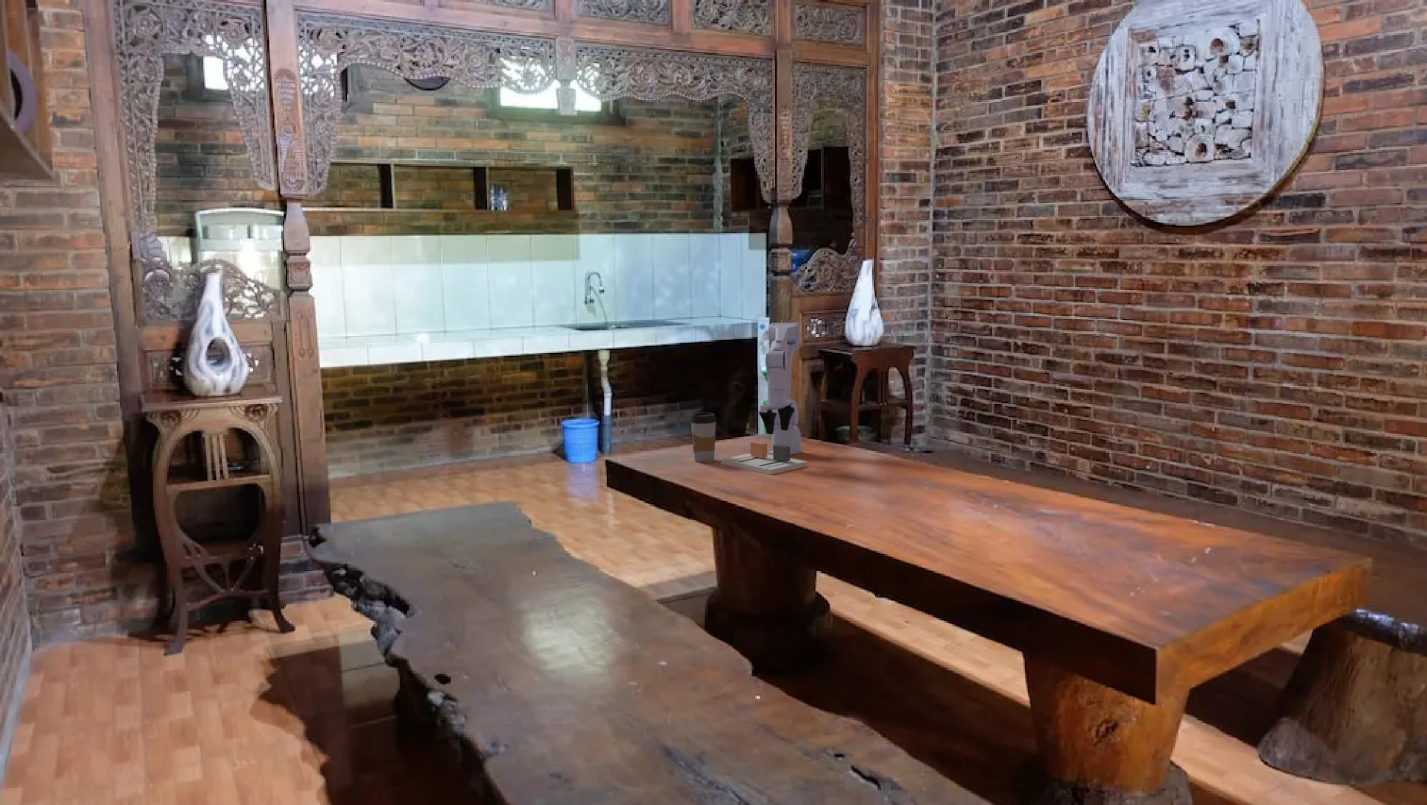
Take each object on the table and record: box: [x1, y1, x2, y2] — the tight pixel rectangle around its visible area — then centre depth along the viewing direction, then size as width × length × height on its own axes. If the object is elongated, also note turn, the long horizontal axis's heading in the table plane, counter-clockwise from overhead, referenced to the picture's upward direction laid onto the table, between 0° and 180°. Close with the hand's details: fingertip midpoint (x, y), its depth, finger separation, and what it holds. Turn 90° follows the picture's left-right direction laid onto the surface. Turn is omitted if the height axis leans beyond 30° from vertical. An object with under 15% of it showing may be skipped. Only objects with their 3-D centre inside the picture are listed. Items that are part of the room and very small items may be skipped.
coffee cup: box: [690, 412, 717, 463], centre depth 317 cm, size 8×8×15 cm
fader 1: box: [750, 441, 768, 458], centre depth 313 cm, size 2×5×4 cm, turn 42°
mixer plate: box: [720, 452, 808, 475], centre depth 309 cm, size 16×22×2 cm
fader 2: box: [772, 444, 791, 462], centre depth 307 cm, size 2×5×4 cm, turn 42°
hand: (777, 432), depth 311 cm, fingers open, 7 cm apart
